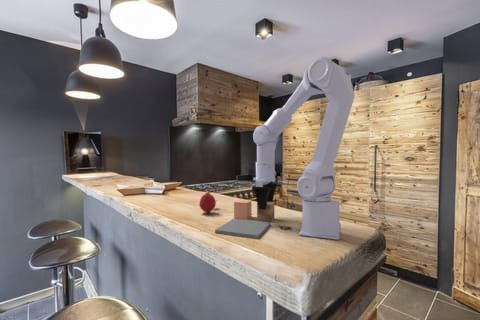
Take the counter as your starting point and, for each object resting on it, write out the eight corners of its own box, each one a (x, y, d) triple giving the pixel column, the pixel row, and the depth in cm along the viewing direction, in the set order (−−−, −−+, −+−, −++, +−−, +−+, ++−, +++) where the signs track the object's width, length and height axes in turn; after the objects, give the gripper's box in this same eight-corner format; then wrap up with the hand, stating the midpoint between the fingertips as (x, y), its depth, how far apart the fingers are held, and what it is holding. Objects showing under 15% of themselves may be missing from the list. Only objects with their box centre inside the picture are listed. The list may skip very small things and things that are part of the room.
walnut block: (274, 218, 74) (274, 202, 74) (270, 222, 70) (270, 204, 70) (261, 217, 76) (261, 201, 76) (257, 220, 71) (257, 203, 71)
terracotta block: (251, 216, 77) (251, 200, 77) (246, 219, 73) (246, 202, 73) (239, 215, 79) (239, 199, 79) (234, 218, 74) (234, 201, 74)
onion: (212, 215, 78) (212, 192, 78) (197, 214, 79) (197, 192, 79) (217, 211, 84) (217, 190, 84) (203, 211, 85) (203, 189, 85)
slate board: (270, 225, 66) (270, 222, 66) (258, 238, 55) (258, 235, 55) (233, 221, 71) (233, 218, 71) (215, 232, 60) (215, 229, 60)
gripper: (260, 163, 81) (260, 201, 81) (246, 165, 67) (246, 210, 68) (280, 164, 78) (279, 203, 78) (268, 165, 65) (268, 212, 65)
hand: (265, 206), depth 73 cm, fingers open, 7 cm apart
